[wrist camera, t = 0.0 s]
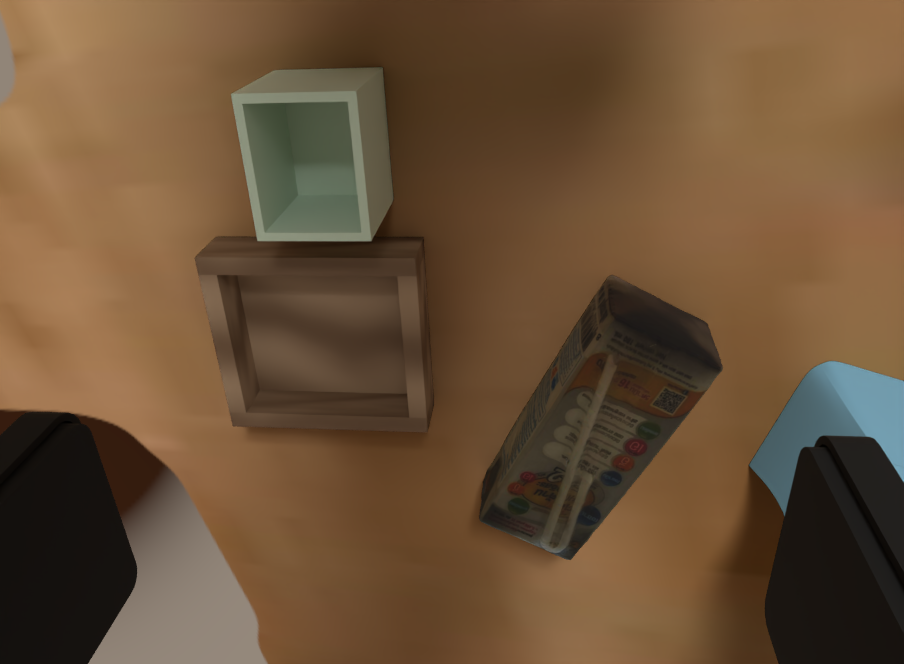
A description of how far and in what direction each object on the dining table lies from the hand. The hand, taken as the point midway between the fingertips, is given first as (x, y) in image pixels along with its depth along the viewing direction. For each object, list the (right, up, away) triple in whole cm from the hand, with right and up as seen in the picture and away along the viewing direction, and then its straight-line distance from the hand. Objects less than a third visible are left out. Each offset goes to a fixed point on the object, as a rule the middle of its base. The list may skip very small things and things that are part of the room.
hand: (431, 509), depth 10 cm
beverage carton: (+10, -2, +43) cm, 44 cm away
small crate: (-7, +14, +35) cm, 39 cm away
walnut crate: (-8, +3, +42) cm, 43 cm away
